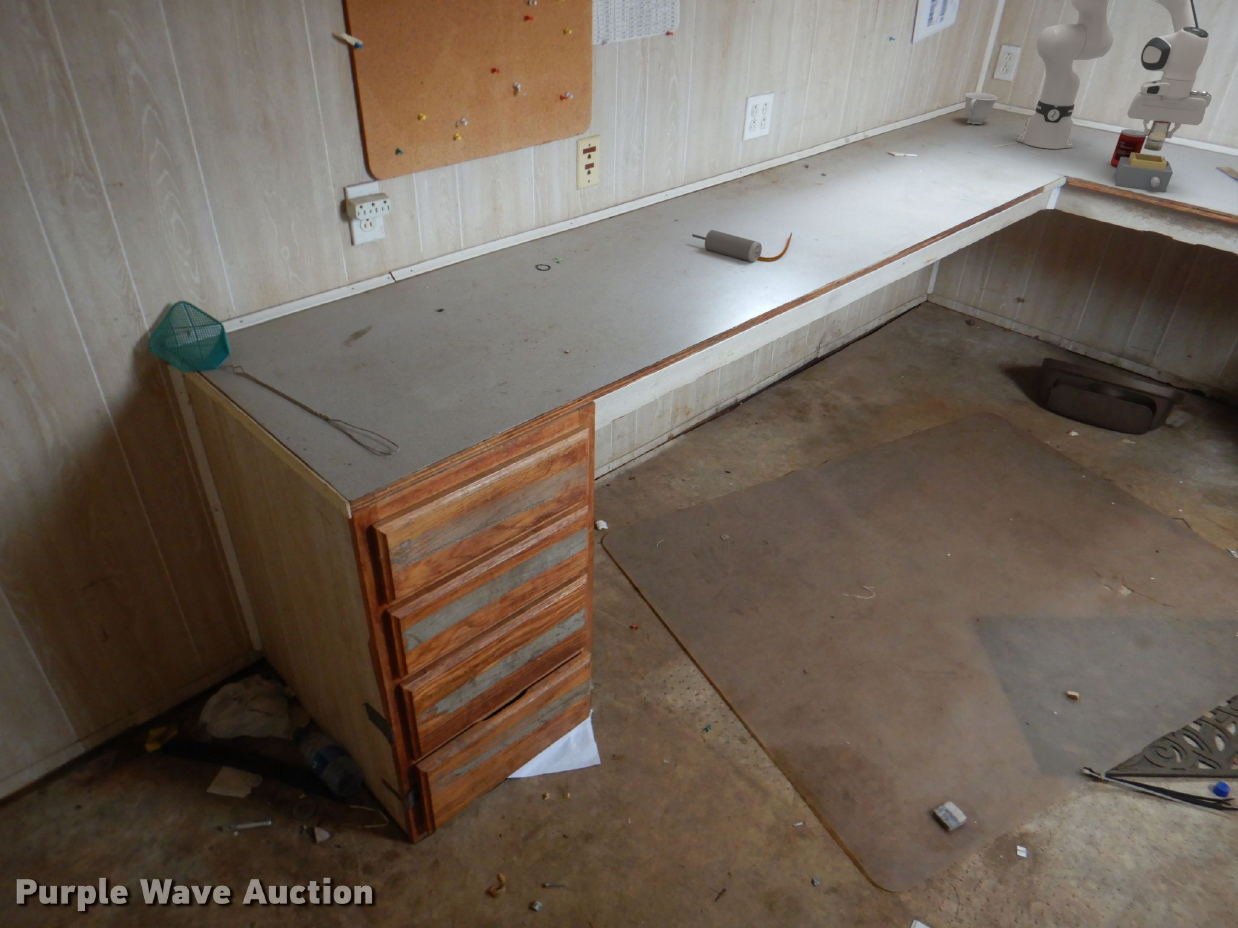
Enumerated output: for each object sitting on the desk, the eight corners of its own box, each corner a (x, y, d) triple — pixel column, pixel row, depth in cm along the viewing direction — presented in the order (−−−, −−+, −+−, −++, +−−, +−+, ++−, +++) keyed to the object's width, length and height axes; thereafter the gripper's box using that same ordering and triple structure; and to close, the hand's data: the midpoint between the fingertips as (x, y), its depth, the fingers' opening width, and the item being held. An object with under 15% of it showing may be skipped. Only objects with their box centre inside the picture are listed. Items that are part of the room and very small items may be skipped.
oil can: (1143, 146, 269) (1153, 118, 264) (1160, 148, 267) (1171, 119, 262) (1144, 149, 265) (1154, 121, 260) (1161, 151, 263) (1172, 123, 259)
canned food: (1129, 163, 292) (1141, 129, 286) (1138, 170, 285) (1151, 136, 279) (1106, 162, 292) (1117, 128, 286) (1114, 168, 286) (1126, 134, 280)
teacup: (950, 124, 330) (957, 96, 325) (965, 118, 340) (972, 91, 334) (981, 130, 324) (988, 102, 318) (995, 123, 334) (1002, 96, 328)
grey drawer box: (1114, 175, 279) (1123, 150, 275) (1161, 182, 275) (1171, 156, 270) (1116, 188, 268) (1125, 162, 263) (1166, 195, 263) (1176, 168, 259)
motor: (764, 268, 206) (768, 247, 204) (686, 246, 216) (689, 226, 214) (804, 255, 224) (808, 236, 221) (730, 236, 234) (733, 217, 232)
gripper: (1212, 90, 255) (1193, 138, 263) (1136, 83, 262) (1120, 130, 270) (1215, 94, 251) (1196, 143, 258) (1138, 87, 257) (1121, 134, 265)
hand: (1156, 136), depth 264 cm, fingers closed on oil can, 5 cm apart
